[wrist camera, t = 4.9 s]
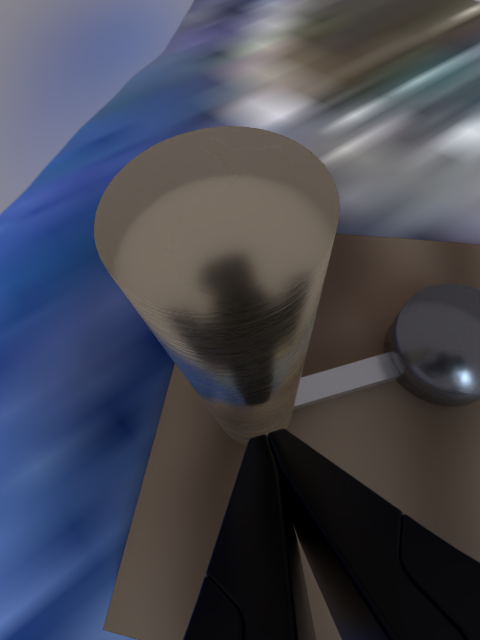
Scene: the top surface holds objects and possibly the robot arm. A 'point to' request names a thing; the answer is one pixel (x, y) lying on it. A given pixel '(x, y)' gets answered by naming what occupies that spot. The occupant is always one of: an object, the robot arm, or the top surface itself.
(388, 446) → the brown flat board
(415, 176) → the top surface
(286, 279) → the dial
